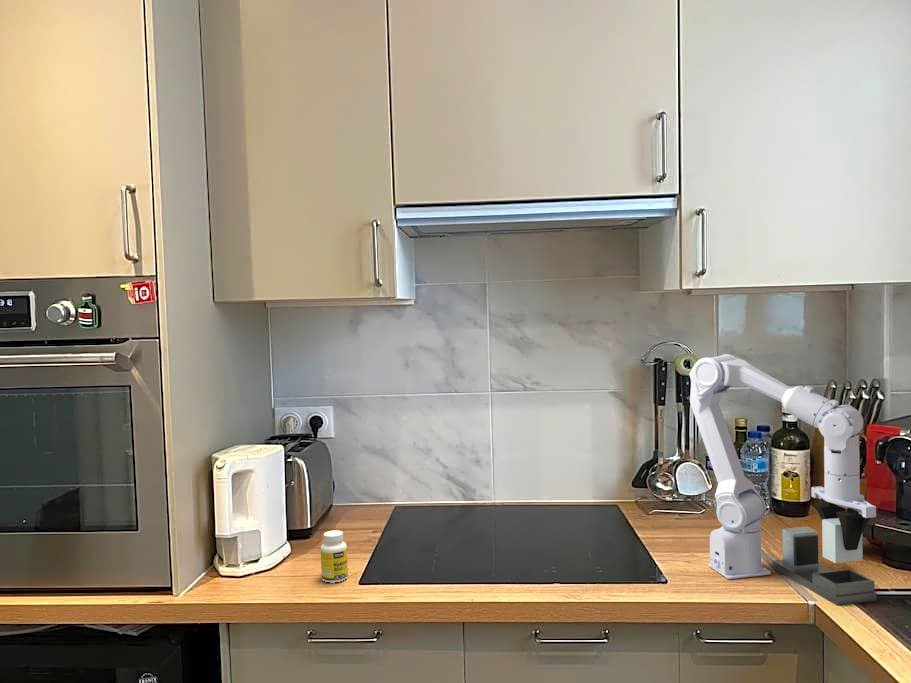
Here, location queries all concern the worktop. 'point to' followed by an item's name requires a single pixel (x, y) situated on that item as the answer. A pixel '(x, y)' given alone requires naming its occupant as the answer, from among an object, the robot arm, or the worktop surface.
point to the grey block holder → (820, 570)
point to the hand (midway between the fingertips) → (842, 545)
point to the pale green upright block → (837, 543)
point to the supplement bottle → (334, 557)
